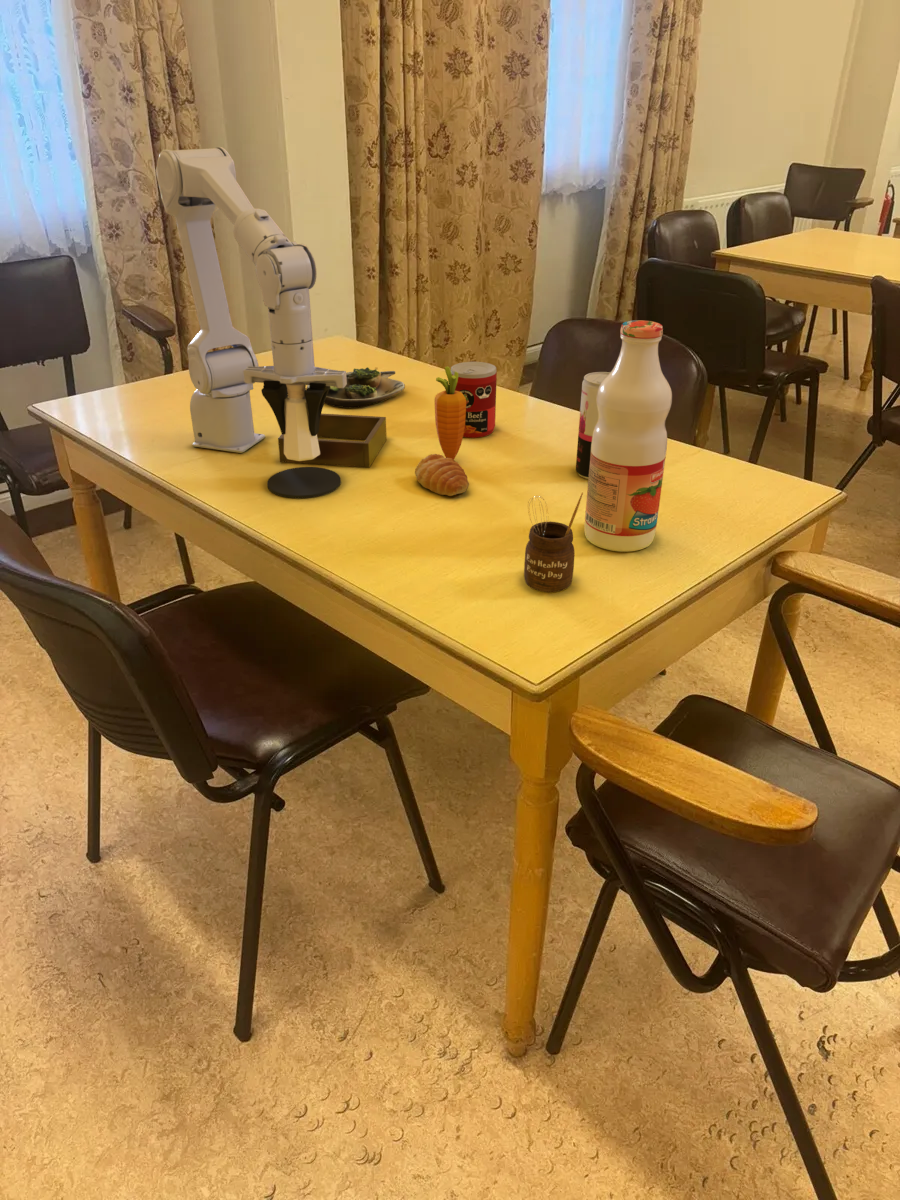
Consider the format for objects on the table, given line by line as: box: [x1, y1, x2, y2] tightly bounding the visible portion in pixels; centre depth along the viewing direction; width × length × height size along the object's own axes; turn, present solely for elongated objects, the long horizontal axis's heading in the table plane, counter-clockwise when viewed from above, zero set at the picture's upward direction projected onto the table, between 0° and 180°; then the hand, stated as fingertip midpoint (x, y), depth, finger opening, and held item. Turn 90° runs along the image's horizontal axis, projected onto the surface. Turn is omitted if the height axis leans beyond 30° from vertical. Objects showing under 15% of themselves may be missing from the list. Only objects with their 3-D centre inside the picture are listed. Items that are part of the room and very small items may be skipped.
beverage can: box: [575, 371, 611, 480], centre depth 135 cm, size 7×6×15 cm
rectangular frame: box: [277, 412, 388, 469], centre depth 146 cm, size 15×13×4 cm
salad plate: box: [306, 367, 406, 409], centre depth 173 cm, size 19×18×5 cm
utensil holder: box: [523, 492, 584, 593], centre depth 106 cm, size 6×6×12 cm
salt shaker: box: [284, 382, 320, 461], centre depth 130 cm, size 5×5×11 cm
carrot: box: [434, 365, 466, 461], centre depth 139 cm, size 5×5×15 cm
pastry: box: [414, 453, 470, 497], centre depth 133 cm, size 9×7×4 cm
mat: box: [266, 466, 342, 499], centre depth 135 cm, size 11×11×1 cm
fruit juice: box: [583, 319, 673, 553], centre depth 113 cm, size 9×9×28 cm
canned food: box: [450, 361, 498, 439], centre depth 152 cm, size 8×8×11 cm
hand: (299, 432), depth 131 cm, fingers closed on salt shaker, 4 cm apart
